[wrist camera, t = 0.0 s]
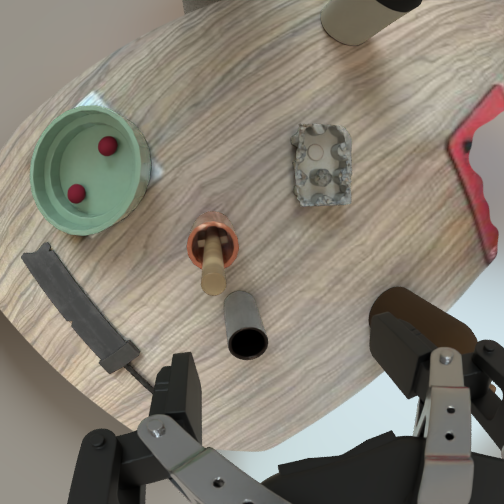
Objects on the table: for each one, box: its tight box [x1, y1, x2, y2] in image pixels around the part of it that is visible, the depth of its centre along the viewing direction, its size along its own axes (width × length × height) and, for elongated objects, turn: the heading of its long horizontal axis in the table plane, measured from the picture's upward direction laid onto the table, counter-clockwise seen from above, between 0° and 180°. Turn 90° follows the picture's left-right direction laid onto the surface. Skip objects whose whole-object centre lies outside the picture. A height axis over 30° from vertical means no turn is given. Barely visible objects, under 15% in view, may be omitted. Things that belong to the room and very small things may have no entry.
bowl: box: [30, 105, 151, 236], centre depth 31 cm, size 15×15×6 cm
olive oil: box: [369, 287, 496, 393], centre depth 34 cm, size 11×11×25 cm
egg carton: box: [291, 124, 352, 206], centre depth 36 cm, size 11×8×4 cm
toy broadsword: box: [21, 242, 154, 394], centre depth 40 cm, size 7×35×2 cm, turn 34°
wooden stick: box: [197, 226, 228, 296], centre depth 30 cm, size 2×3×18 cm, turn 97°
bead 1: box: [67, 184, 86, 204], centre depth 33 cm, size 3×3×3 cm
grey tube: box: [224, 291, 268, 360], centre depth 37 cm, size 4×4×10 cm
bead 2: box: [98, 136, 118, 156], centre depth 32 cm, size 3×3×3 cm
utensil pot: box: [187, 211, 239, 269], centre depth 35 cm, size 5×5×8 cm
